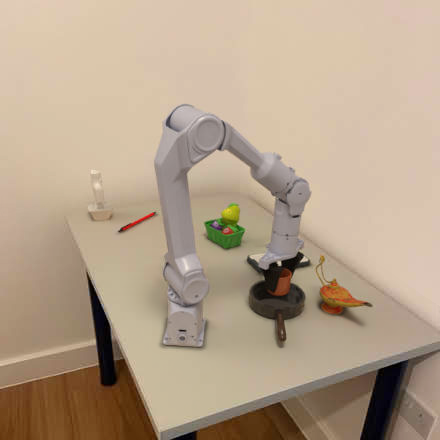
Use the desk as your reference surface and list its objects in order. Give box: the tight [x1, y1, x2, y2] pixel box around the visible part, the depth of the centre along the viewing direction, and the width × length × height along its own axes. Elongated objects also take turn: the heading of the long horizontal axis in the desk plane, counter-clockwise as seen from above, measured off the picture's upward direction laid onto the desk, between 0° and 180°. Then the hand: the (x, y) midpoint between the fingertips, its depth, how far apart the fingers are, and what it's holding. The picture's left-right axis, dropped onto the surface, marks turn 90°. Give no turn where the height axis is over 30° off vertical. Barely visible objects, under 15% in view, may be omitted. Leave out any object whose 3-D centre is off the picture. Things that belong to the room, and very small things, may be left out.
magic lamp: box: [315, 254, 374, 315], centre depth 99 cm, size 7×18×11 cm, turn 30°
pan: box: [248, 279, 306, 320], centre depth 103 cm, size 13×13×3 cm
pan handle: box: [275, 310, 287, 343], centre depth 93 cm, size 11×2×2 cm, turn 178°
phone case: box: [246, 250, 311, 274], centre depth 121 cm, size 9×2×16 cm
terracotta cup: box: [267, 268, 293, 296], centre depth 100 cm, size 5×5×5 cm
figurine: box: [86, 168, 114, 221], centre depth 139 cm, size 7×9×15 cm
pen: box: [117, 211, 157, 233], centre depth 140 cm, size 1×19×1 cm, turn 150°
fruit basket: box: [203, 202, 246, 250], centre depth 129 cm, size 11×9×11 cm
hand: (278, 285), depth 101 cm, fingers closed on terracotta cup, 5 cm apart
